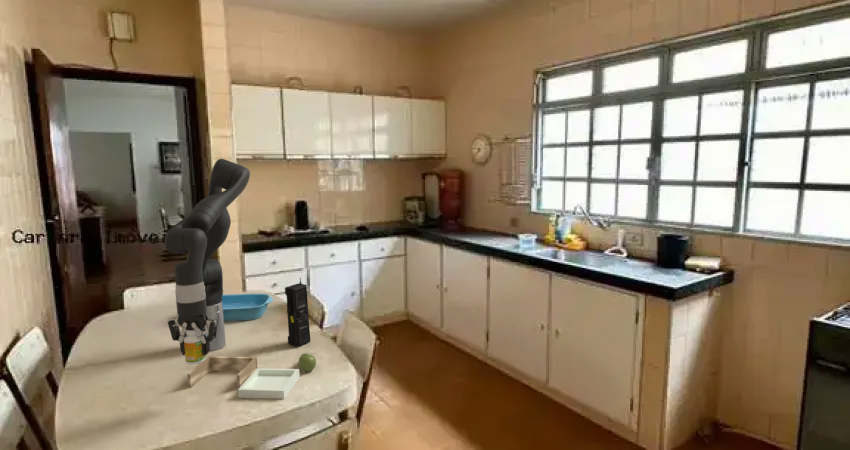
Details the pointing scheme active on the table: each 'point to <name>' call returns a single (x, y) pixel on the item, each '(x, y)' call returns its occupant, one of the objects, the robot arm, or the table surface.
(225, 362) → the frame
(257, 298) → the casserole dish
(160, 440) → the table surface
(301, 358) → the pear
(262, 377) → the plastic tray
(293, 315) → the portable radio
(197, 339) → the supplement bottle
